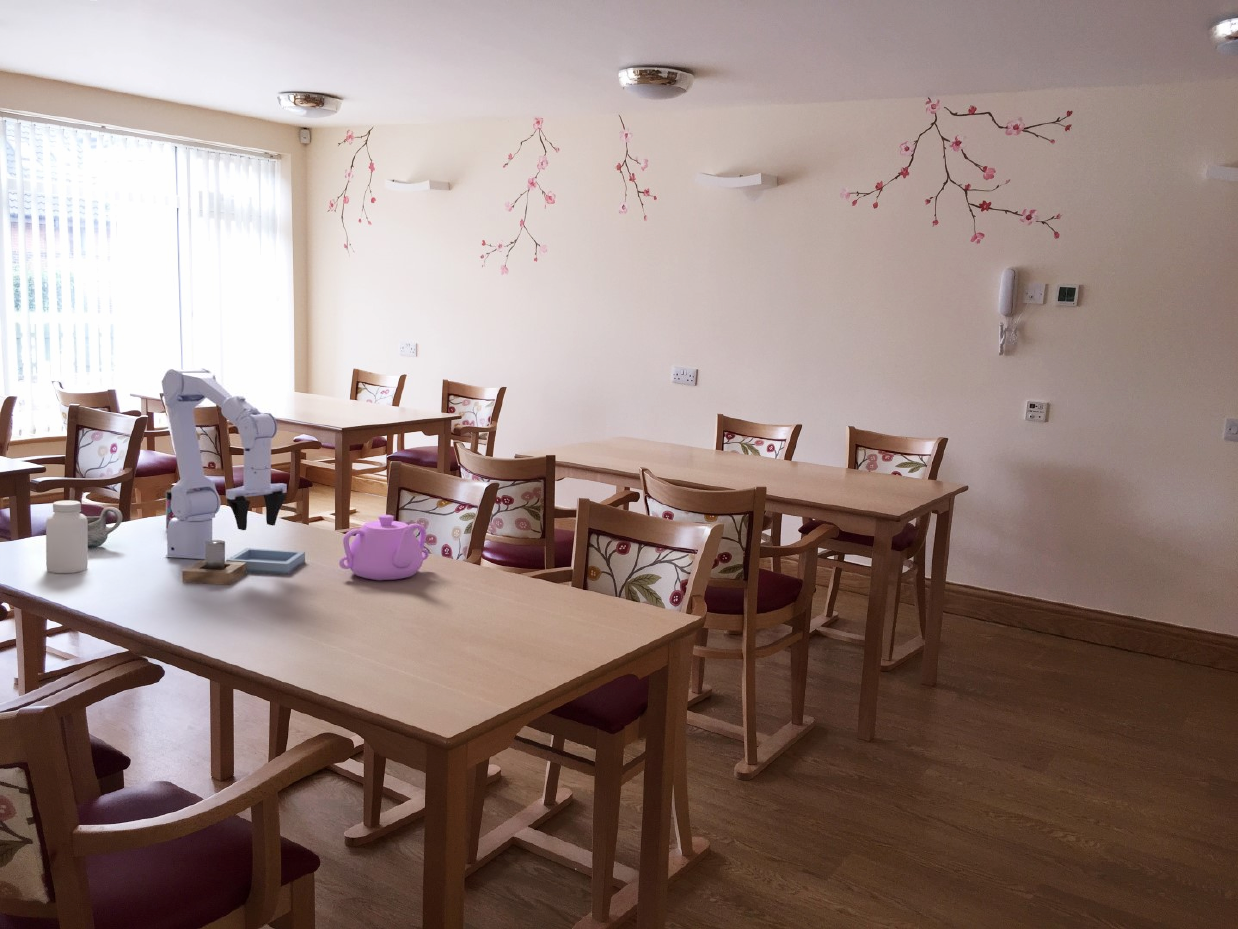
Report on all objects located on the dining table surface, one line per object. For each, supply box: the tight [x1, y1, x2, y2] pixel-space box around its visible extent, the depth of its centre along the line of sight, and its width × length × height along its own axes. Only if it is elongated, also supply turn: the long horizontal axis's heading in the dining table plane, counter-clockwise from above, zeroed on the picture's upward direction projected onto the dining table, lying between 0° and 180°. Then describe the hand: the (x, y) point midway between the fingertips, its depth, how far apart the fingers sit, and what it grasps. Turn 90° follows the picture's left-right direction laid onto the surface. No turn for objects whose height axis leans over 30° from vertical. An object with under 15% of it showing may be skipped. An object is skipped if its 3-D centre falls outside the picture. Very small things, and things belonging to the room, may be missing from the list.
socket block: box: [181, 559, 247, 586], centre depth 220 cm, size 10×10×2 cm
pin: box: [204, 539, 226, 570], centre depth 220 cm, size 4×4×8 cm
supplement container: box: [165, 488, 195, 530], centre depth 262 cm, size 7×7×10 cm
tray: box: [225, 547, 306, 576], centre depth 232 cm, size 14×12×2 cm
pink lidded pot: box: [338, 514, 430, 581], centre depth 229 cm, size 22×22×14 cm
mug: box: [86, 506, 123, 550], centre depth 238 cm, size 10×12×10 cm
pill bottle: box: [45, 499, 89, 574], centre depth 218 cm, size 8×8×15 cm
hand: (256, 527), depth 226 cm, fingers open, 7 cm apart
